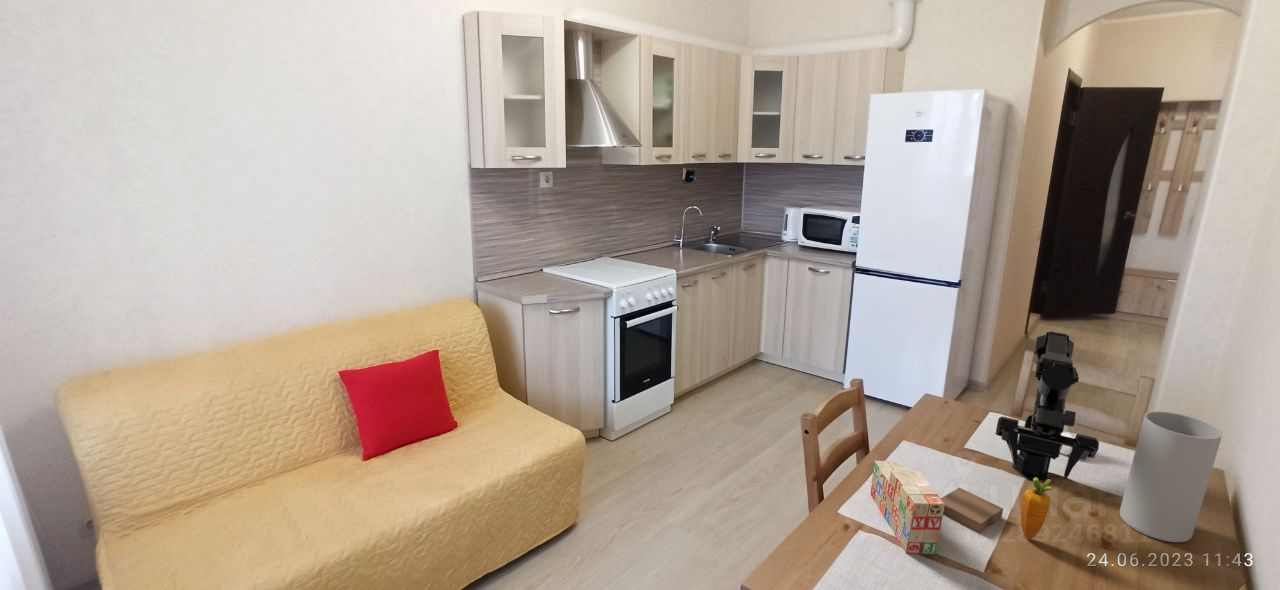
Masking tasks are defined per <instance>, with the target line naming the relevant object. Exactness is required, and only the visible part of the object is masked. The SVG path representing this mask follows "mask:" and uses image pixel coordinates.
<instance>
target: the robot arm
mask: <svg viewBox="0 0 1280 590" xmlns="http://www.w3.org/2000/svg"><path fill="white" fill-rule="evenodd" d="M1074 346H1075V343H1074V342H1073V341H1072V340H1071V339H1070V335H1069V334H1067V333H1064V332H1057V331H1050V330H1049V331H1046V332H1045V334H1044V335H1039V336H1037V337H1036V340H1035V343H1034V347H1033V348H1034V349H1033V353H1032V355H1035V360H1034V364H1035V369H1034V378H1037V379H1036V380H1037V381H1038V382H1037V388H1036V392H1035V399H1034V406H1033V410H1032V411H1033V412H1032V413H1033V414H1032V415H1031V414H1029V416H1027V418H1026V420H1025V422H1024V425H1023V426H1022V425H1019V419H1015V418H1011V417H1006V416H1000V417H998V419H997V424H996V428H995V429H996V430H995V435H996V436H999V437H1001V440H1003V441H1004V442H1006V445H1007V446H1008V449H1009V451H1010V456H1011V460H1012V464H1011V465H1012V466H1011V468H1013V469H1015V470H1016V471H1017V472H1019V474H1021V475H1022V476H1023V477H1024V478H1026V479H1027V480H1033V478H1035V477H1036V478H1038V480H1048V479H1050V480H1052V478H1053V476H1051V475H1050V474H1049V470H1050V469H1049V468H1050V464H1051V460H1056V459H1057V458H1059V457H1060V454H1061V453H1060V450H1061V447H1062V445H1066V446H1070V447H1072V451H1071V453H1070V454H1069V456H1068V459H1067V463H1066V466H1065V470H1064V473H1063V480H1065V481H1066V480H1067V479H1068V477H1069V476H1070V474H1071V472H1072V470H1073V468H1074V467H1075V466H1076V465H1077V463H1078V462H1079V461H1080V460H1082V461H1083V460H1084V461H1087V458H1088V459H1093V458H1095V457H1096V455H1097V453H1098V451H1099V446H1100V441H1099V440H1098V438H1097V437H1095V436H1090V435H1085V434H1081V433H1076V435H1075V439H1074V438H1070V437H1066V436H1061V433H1063V430H1064V425H1066V426H1068V427H1070V426H1071V428H1072V427H1074V426H1075V423H1076V414H1077V413H1076V411H1071V410H1065V408H1066V402H1067V397H1068V396H1069V393H1070V390H1071V388H1072V386H1073V385H1075V384H1076V383H1079V378H1080V377H1079V372H1078V371H1077V367H1074V362H1073V359H1072V357H1073V353H1074V348H1075V347H1074ZM1018 452H1019V453H1018Z"/></svg>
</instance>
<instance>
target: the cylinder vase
mask: <svg viewBox="0 0 1280 590" xmlns="http://www.w3.org/2000/svg"><path fill="white" fill-rule="evenodd" d="M1222 436H1223V432H1222V430H1220V429H1219V428H1217V427H1216V426H1214V425H1213V424H1210V423H1208V422H1205V421H1203V420H1201V419H1198V418H1195V417H1191V416H1188V415H1185V414H1180V413H1175V412H1169V411H1159V410H1157V411H1156V410H1155V411H1148V412H1145V413H1144V415H1143V418H1142V422H1141V428H1140V431H1139V435H1138V439H1137V442H1136V443H1137V444H1136V447H1135V451H1134V454H1133V459H1132V462H1131V466H1130V471H1129V473H1128V477H1127V482H1126V485H1125V488H1124V494H1123V498H1122V501H1121V503H1120V504H1121V506H1120V508H1119V515H1120V517H1121V519H1122V521H1123V522H1124V523H1126V524H1127V526H1129V527H1130V528H1133V530H1135V531H1137V532H1139V533H1140V534H1143V535H1145V536H1148V537H1149V538H1153V539H1155V540H1156V539H1157V540H1160V541H1164V542H1169V543H1185V542H1187V541H1189V540H1191V538H1192V537H1193V535H1194V531H1195V527H1196V524H1197V521H1198V518H1199V515H1200V511H1201V507H1202V504H1203V501H1204V498H1205V494H1206V491H1207V488H1208V484H1209V481H1210V478H1211V474H1212V471H1213V467H1214V464H1215V460H1216V457H1217V454H1218V450H1219V447H1220V444H1221V441H1222V438H1223V437H1222Z"/></svg>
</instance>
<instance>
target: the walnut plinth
mask: <svg viewBox="0 0 1280 590" xmlns="http://www.w3.org/2000/svg"><path fill="white" fill-rule="evenodd" d="M940 499H941V500H942V501H943V502H944V504H945V507H944V512H943V516H944V517H947V518H948V519H950V520H952V521H954V522H956V523H958V524H960V525H961V526H964V527H966V528H967V529H969V530H971V531H973V532H975V533H977V534H978V535H979V534H981V533H982V532H984V531H985V530H987V529H988V528H989V527H991V526H992V525H994V524H995V523H996V522H998V521H999V520H1002V517H1003V512H1004V507H1001V506H999V505H997V504H994V503H993V502H991V501H988V500H987V499H984V498H982V497H980V496H978V495H976V494H973V492H970V491H967V490H965V489H963V488H961V487H958V488H956V489H954V490H953V491H950V492H949V493H947V494H946V495H944V496H942V497H940Z"/></svg>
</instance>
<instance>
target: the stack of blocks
mask: <svg viewBox="0 0 1280 590" xmlns="http://www.w3.org/2000/svg"><path fill="white" fill-rule="evenodd" d="M870 496H871V498H872V499H873V501H874V503H875V505H876V506H877V508H878V510H879V511H880V513H881V515H882V517H883V518H884V519H885V521H886V523H887V524H888V527H890V529H891V531H892V532H893V534H894V536H895V537H896V539H897V541H898V543H899V545H900V547H901V548H902V550H903V551H904V553H905V555H933V556H934V555H936V553H937V548H938V541H939V536H940V530H941V527H942V524H943V523H942V522H943V516H944V515H943V512H944V507H945V504H944V502H943V501H942V500H941V499H940V498H941V497H940V496H939V495H938V492H937V491H936V490H935V489H934V488H933V486H931V484H930V483H929V482H928V481H927V479H926V478H924V476H923V475H922V473H920V471H919V470H907V469H906V467H905V466H904V465H903V464H902V463H901V461H899V460H896V461H895V460H874V461H873V467H872V478H871V486H870Z"/></svg>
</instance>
